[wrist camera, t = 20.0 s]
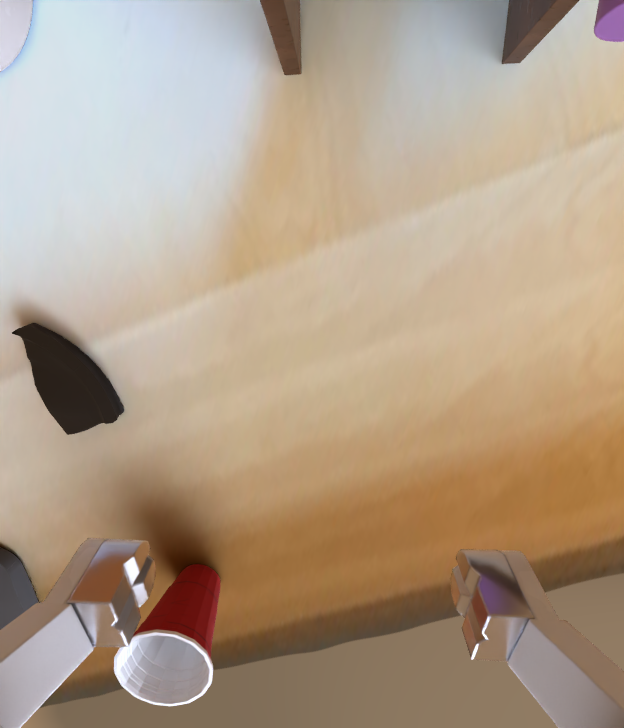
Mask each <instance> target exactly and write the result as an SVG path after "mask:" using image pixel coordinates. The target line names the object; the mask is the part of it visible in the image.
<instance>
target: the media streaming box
mask: <svg viewBox="0 0 624 728" xmlns="http://www.w3.org/2000/svg"><path fill="white" fill-rule="evenodd" d="M36 603H38V600H37V597H36V595H35V592H34V589H33V587H32V585H31V582H30V580H29V578H28V575H27V573H26V571H25V569H24V567H23V565H22V563H21V561H20V560H19V559H18V558H17V557H16V556H15V555H13V554H12V553H11V552H9V551H7V550H5V549H2V548H0V630H1V629H2V628H4V627H5V626H6V625H8V624H9V623H10V622H12V621H13V620H14V619H16V618H17V617H18V616H20V615H21V614H22V613H24V612H25V611H26V610H28V609H29V608H30V607H32V606H33V605H34V604H36Z"/></svg>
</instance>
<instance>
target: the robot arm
mask: <svg viewBox="0 0 624 728" xmlns="http://www.w3.org/2000/svg"><path fill="white" fill-rule="evenodd" d="M32 10H33V0H0V72H1V71H3V70H4V69H5V68H7V67H8V66H9V65H10V64H11V63H12V62H13V61H14V60H15V58H16V57H17V56H18V54H19V53H20V51H21V49H22V47H23V45H24V43H25V41H26V38H27V36H28V32H29V29H30V25H31V19H32ZM150 549H151V548H150V546H149V543H148V541H145V540H122V539H104V538H88V539H87V540H85V541H84V542H83V543H82V544H81V545H80V547H79V548H78V550H77V551H76V553H75V554H74V556H73V557H72V559H71V560H70V562H69V564H68V565H67V567H66V568H65V570H64V571H63V573H62V574H61V576H60V577H59V579H58V580H57V582H56V583H55V585H54V586H53V588H52V589H51V591H50V592H49V594H48V595H47V597H46V599H45V600H44V602H43V603H36V604H34V605H33V606H32V607H30V608H29V609H28V610H26V611H25V612H24V613H22V614H21V615H20V616H18V617H17V618H16V619H14V620H13V621H12V622H10V623H9V624H8V625H6V626H5V627H4V628H2V629H1V630H0V728H20V727H21V726H22V725H23V724H24V723H25V722H26V721H27V720H28V719H29V718H30V717H31V716H32V715H33V713H34V712H35V711H36V710H37V709H38V708H39V707H40V706H41V705H42V704H43V703H44V702H45V701H46V700H47V699H48V697H49V696H50V695H51V694H52V693H53V692H54V691H55V690H56V689H57V688H58V687H59V686H60V685H61V684H62V683H63V682H64V680H65V679H66V678H67V677H68V676H69V675H70V674H71V673H72V672H73V671H74V670H75V669H76V668H77V667H78V666H79V664H80V663H81V662H82V661H83V660H84V659H85V658H86V657H87V656H88V655H89V654H90V653H91V652H92V651H93V650H94V648H93V647H129V645H130V642H131V640H132V637H133V635H134V633H135V630H136V628H137V625H138V623H139V621H140V618H141V616H140V612H139V607H140V606H141V605H142V604H143V603H144V602H145V601H147V600H148V599H149V596H150V594H151V591H152V588H153V585H154V580H155V575H156V565H155V562H154V559H152V558H151V557H150V556H148V553H149V551H150ZM456 560H457V563H458V565H457V566H456V567H455V568H453V569H452V573H451V592H452V597H453V601H454V604H455V608H456V610H457V611H458V612H459V613H460V614H461V615H462V616H463V617H464V618H465V620H464V623H463V626H462V631H463V634H464V637H465V640H466V644H467V647H468V650H469V653H470V656H471V659H476V660H492V661H507V662H508V663H507V664H508V665H509V666H510V668H511V669H512V670H513V672H514V673H515V674H516V675H517V677H518V678H519V679H520V680H521V682H522V683H523V684H524V685H525V686H526V688H527V689H528V690H529V691H530V693H531V694H532V695H533V696H534V698H535V699H536V700H537V701H538V703H539V704H540V705H541V706H542V708H543V709H544V710H545V711H546V713H547V714H548V715H549V716H550V717H551V719H552V720H553V721H554V723H555V724H556V725H557V726H558V727H559V728H624V671H623V670H622V669H621V668H619V667H618V666H617V665H616V664H615V663H614V662H613V661H612V660H610V659H609V658H608V657H607V656H606V655H604V653H602V652H601V651H600V650H599V649H598V648H597V647H596V646H594V645H593V644H592V643H591V642H590V641H589V640H588V639H587V638H585V637H584V636H583V635H582V634H581V633H580V632H579V631H577V630H576V629H575V628H574V627H573V626H572V625H571V624H569V623H568V622H567V621H565V620H559V618H558V616H557V615H556V613H555V611H554V609H553V607H552V605H551V603H550V601H549V600H548V598H547V596H546V595H545V592H544V590H543V588H542V586H541V585H540V583H539V581H538V579H537V577H536V575H535V573H534V572H533V570H532V568H531V566H530V564H529V562H528V560H527V559H526V557H525V555H524V554H523V553H522V552H520V551H499V550H470V549H461V550H459V551H458V553H457V556H456Z"/></svg>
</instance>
